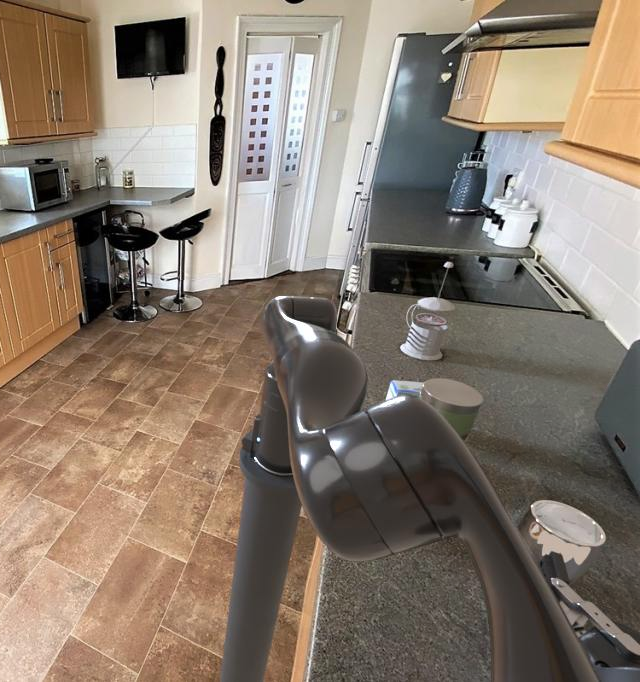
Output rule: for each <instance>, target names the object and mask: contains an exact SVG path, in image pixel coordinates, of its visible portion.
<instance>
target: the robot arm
mask: <svg viewBox="0 0 640 682" xmlns="http://www.w3.org/2000/svg"><path fill="white" fill-rule="evenodd" d="M337 325H338V311H337V307H336V304H335V303H334V301H332V300H331V299H329V298H326V297H315V296H312V297H311V296H296V295H295V296H291V295H282V296H276V297H274V298H271V299H270V300H269V302H268V303H267V304H266V306H265V308H264V310H263V313H262V317H261V333H262V339H263V342H264V345H265V348H266V350H267V351H268V353H269V355H270V357H271V358H272V362H270V363H268V365H267V366H266V368H265V371H264V377H263V386H262V393H261V400H260V407H259V413H257V415H256V416H255V417H254V420H253V426H252V428H251V429H250V430H249V431H248V432H247V433H246V434H245V436H243V437H242V438H241V441H240V442H241V447H242V445H243V447H242V450H244V451H246V452H248V453H250V457H251V458H253V459H254V460H255V462H256V464H257V465H258V466H259V467H260V468H261V469H262V470H264V471H266V472H267V473H269V474H272V475H275V476H280V477H292V476H293V478H294V482H295V486H296V489H297V492H298V495H299V498H300V501H301V504H302V507H301V508H302V509H303V512H304V513H305V516H306V518H307V519H308V522H309V524H310V525H311V527H312V529H313V531H314V532H315V534H316V535H317V537H318V538H319V540H320V541H321V542H322V543H323V544H324V546H326V548H327V549H328V550H330V552H331V553H333V554H334V555H335V556H337V557H339V558H341V559H343V560H345V561H347V562H352V563H363V562H371V561H378V560H382V559H386V558H390V557H393V556H395V555H398V554H403V553H406V552H409V551H412V550H416V549H419V548H422V547H426V546H428V545H432V544H435V543H438V542H442V541H443V540H444V539H445V540H448V539H449V540H450V539H452V538H457V539H459V540H460V542H461V544H462V545H463V547H464V548H465V551H466V552H467V554H468V556H469V558H470V560H471V563H472V565H473V567H474V570H475V573H476V575H477V579H478V580H479V584H480V586H481V590H482V594H483V597H484V602H485V603H484V604H485V606H486V612H487V621H488V632H489V633H488V634H489V645H490V646H489V647H490V682H640V632H639V631H638V630H636V629H633V628H631V627H630V626H627V625H626V624H624V623H621V622H618V621H615V620H611V619H610V618H609V617H608V616H607V615H606V614H605V613H604V612H603V611H602V610H601V609H600V608H599V607H598V606H596V605H595V604H594V602H591V601H589V600H584V599H583V598H582V597H581V596H580V595H579V594H578V593H577V592H576V591H575V590H574V589H573V588H571V586H568V585H569V583H570V581H569V577H568V574H567V570H566V566H565V563H564V559H563V556H562V554H559V553H556V552H554V551H551V552H550V554H549V555H547V554H545V555H544V557H543V558H542V560H541V561H540V563H539V565H538V564H537V562H536V560H535V558H534V557H533V555H532V553H531V551H530V550H529V548H528V546H527V544H526V542H525V541H524V539H523V537H522V535H521V534H520V532H519V530H518V528H517V525H516V523H515V521H514V519H513V518H512V516H511V514H510V512H509V510H508V509H507V508H506V506H505V503H504V502H503V501H502V499H501V496H500V495H499V494H498V491H497V490H496V488H495V486H494V485H493V482H492V481H491V479H490V478H489V476H488V475H487V473H486V472H485V470H484V469H483V467H482V465H481V464H480V461H478V459H477V458H476V456H475V455H474V453H473V452H472V450H471V449H470V447H469V446H468V444H467V443H466V442H464V440H463V439H462V438H461V436H460V435H459V434H458V433H457V431H456V430H455V429H454V428H453V426H452V425H451V424H450V423H449V421H448V420H447V419H446V418H445V417H444V416H443V415H442V414H441V413H440V412H439V411H438V410H437V409H436V408H434V407H433V406H432V405H431V404H430V403H428V402H427V401H425V400H424V399H422V398H420V397H418V396H416V395H411V394H404V395H399V396H396V397H394V398H391V399H388V400H386V399H385V400H383V401H381V402H379V403H377V404H373V405H371V406H369V407H366V408H365V409H362V408H363V406H364V403H365V401H366V396H367V393H368V391H369V390H368V389H369V376H368V371H367V368H366V365H365V363H364V361H363V360H362V359H361V357H360V356H359V354H357V352H356V351H355V350H354V348H353V347H352V346H351V345H350V344H349V342H347V340H345V339H344V338H343V337H342V336H340V335H339V334H337V333H336V331H337ZM563 601H564V602H565V603H564V602H563ZM566 604H567V605H568V606H569V607H568V606H567V605H566ZM588 620H589V622H591V624H592V625H594V626H593V627H592V628H590V629H589V630H586V627H585V624H586V623H587V622H588Z"/></svg>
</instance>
